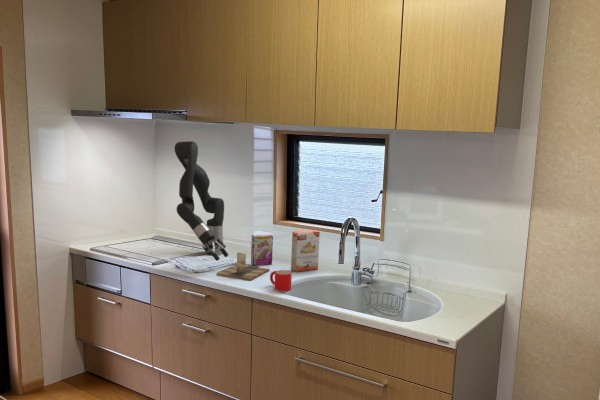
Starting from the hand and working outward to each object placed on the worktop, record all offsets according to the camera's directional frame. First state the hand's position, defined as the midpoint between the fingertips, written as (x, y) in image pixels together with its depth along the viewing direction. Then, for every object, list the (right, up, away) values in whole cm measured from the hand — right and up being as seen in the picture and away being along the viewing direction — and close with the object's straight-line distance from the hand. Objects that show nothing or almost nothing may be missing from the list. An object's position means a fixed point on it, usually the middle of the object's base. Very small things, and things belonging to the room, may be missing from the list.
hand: (222, 257), depth 274 cm
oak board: (+11, -8, +1) cm, 13 cm away
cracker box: (+42, -8, +11) cm, 44 cm away
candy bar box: (+19, -6, +19) cm, 27 cm away
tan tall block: (+10, -7, -4) cm, 13 cm away
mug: (+30, -12, -22) cm, 39 cm away
